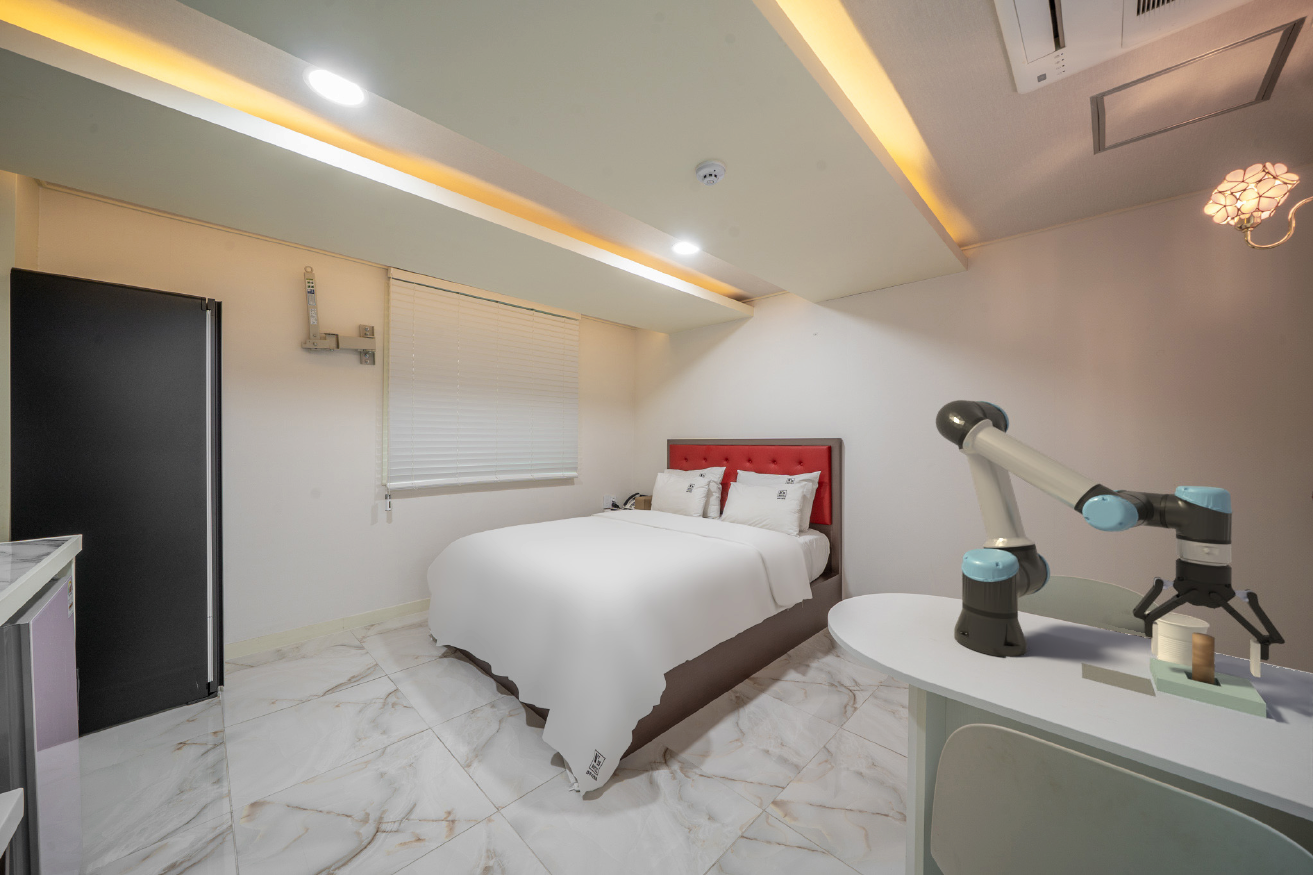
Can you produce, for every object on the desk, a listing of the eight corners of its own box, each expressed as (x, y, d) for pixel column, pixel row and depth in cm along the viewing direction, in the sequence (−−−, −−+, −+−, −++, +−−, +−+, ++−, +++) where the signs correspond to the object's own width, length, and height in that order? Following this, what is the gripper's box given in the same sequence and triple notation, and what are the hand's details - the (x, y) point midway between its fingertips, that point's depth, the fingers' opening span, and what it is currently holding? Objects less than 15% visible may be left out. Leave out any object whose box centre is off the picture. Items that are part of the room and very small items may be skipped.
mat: (1082, 679, 101) (1082, 677, 101) (1081, 664, 108) (1081, 662, 108) (1155, 698, 94) (1155, 696, 94) (1150, 681, 101) (1150, 679, 101)
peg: (1193, 693, 96) (1193, 635, 96) (1190, 687, 98) (1190, 631, 98) (1215, 699, 94) (1216, 640, 94) (1212, 693, 96) (1212, 635, 96)
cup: (1224, 678, 102) (1224, 628, 102) (1170, 673, 104) (1170, 624, 104) (1182, 657, 112) (1183, 611, 112) (1134, 653, 114) (1134, 608, 114)
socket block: (1157, 692, 96) (1157, 677, 96) (1149, 670, 105) (1149, 657, 105) (1266, 719, 87) (1266, 704, 87) (1248, 693, 96) (1248, 679, 96)
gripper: (1119, 554, 102) (1119, 650, 102) (1311, 577, 85) (1310, 692, 85) (1117, 548, 107) (1116, 639, 107) (1296, 568, 90) (1296, 676, 91)
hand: (1202, 663), depth 96 cm, fingers open, 13 cm apart
